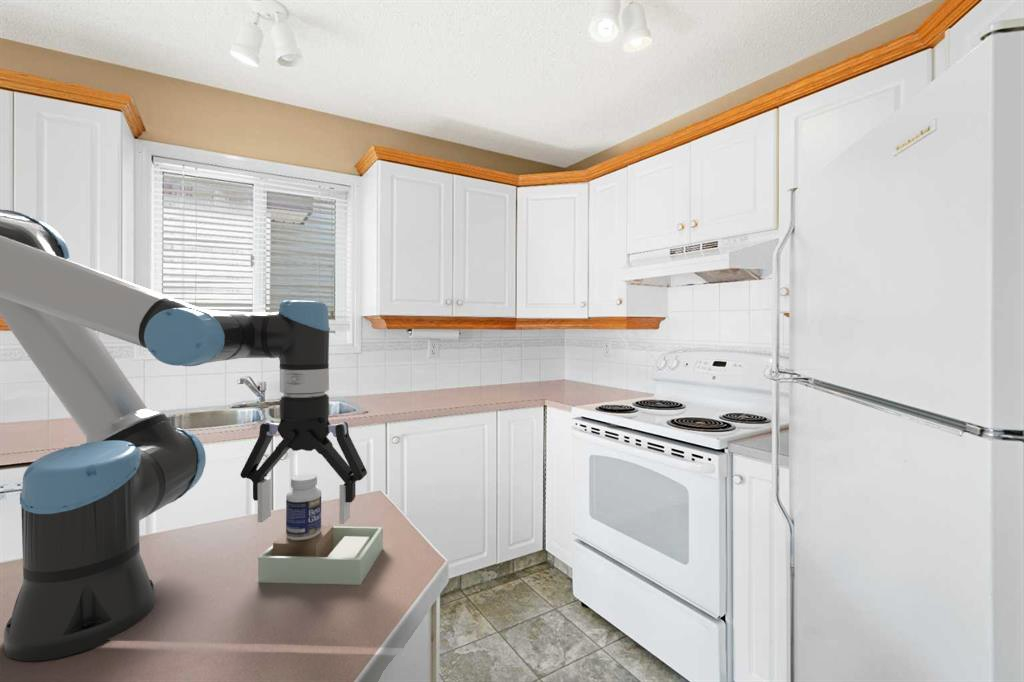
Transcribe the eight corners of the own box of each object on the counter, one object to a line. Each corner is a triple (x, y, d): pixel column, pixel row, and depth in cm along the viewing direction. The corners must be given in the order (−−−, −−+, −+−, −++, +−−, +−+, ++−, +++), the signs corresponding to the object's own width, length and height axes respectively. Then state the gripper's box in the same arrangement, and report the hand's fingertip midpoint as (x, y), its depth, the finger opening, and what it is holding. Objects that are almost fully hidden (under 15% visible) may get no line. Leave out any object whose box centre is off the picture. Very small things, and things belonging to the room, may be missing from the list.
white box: (325, 576, 76) (325, 558, 76) (344, 553, 84) (344, 536, 84) (353, 577, 76) (353, 559, 76) (369, 553, 84) (369, 536, 84)
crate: (258, 585, 74) (258, 557, 74) (294, 549, 86) (294, 525, 86) (360, 588, 74) (360, 559, 73) (382, 551, 86) (382, 527, 85)
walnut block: (272, 573, 76) (272, 543, 76) (293, 553, 83) (293, 525, 83) (316, 575, 76) (316, 544, 76) (333, 554, 83) (333, 526, 83)
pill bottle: (313, 542, 77) (313, 482, 77) (279, 541, 77) (279, 481, 77) (326, 527, 82) (326, 472, 82) (295, 527, 82) (295, 471, 82)
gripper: (216, 395, 75) (216, 527, 76) (372, 398, 75) (371, 531, 76) (243, 389, 83) (243, 509, 84) (385, 392, 82) (384, 512, 83)
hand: (304, 520), depth 80 cm, fingers open, 13 cm apart
